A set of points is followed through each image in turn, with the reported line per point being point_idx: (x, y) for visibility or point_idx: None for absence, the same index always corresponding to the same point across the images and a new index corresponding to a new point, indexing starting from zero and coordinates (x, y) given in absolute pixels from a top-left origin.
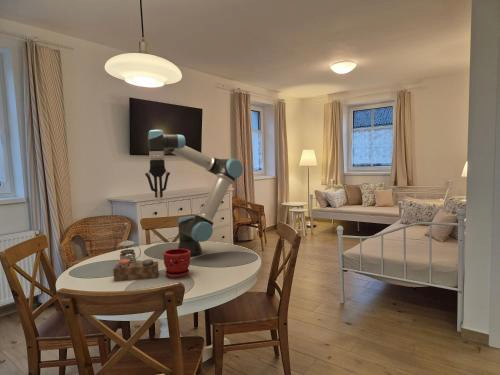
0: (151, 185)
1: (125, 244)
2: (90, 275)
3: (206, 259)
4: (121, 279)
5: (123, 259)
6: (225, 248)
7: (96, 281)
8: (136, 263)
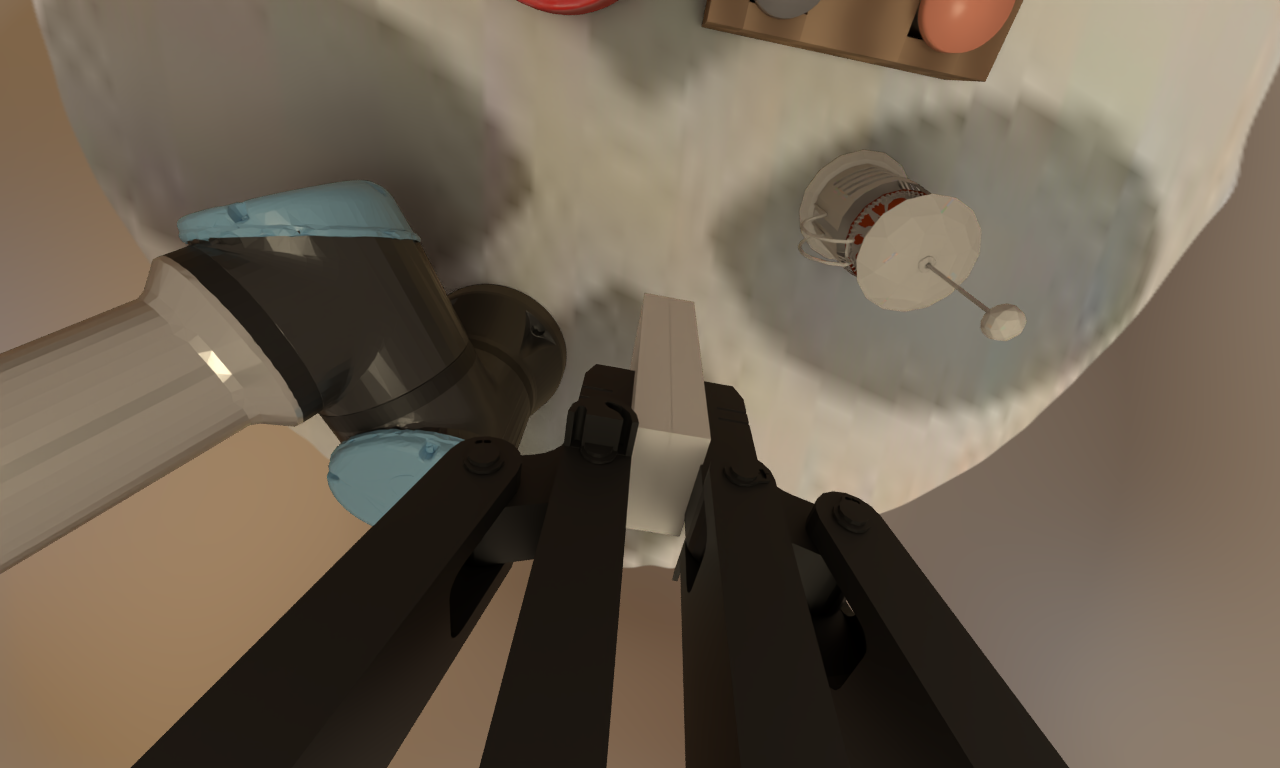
0: (924, 648)
1: (946, 206)
2: (1071, 178)
3: (395, 186)
4: None
5: (969, 37)
6: None
7: (1083, 27)
8: (858, 40)
